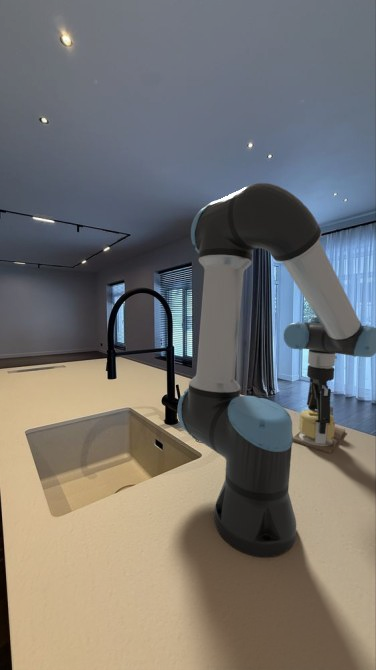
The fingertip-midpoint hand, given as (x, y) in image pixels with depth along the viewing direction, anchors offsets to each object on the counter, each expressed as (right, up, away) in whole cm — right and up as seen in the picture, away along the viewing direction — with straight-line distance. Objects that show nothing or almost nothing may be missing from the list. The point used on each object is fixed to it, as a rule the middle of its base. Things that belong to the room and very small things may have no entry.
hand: (315, 435), depth 89 cm
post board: (+3, -2, +4) cm, 6 cm away
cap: (0, +1, 0) cm, 1 cm away
